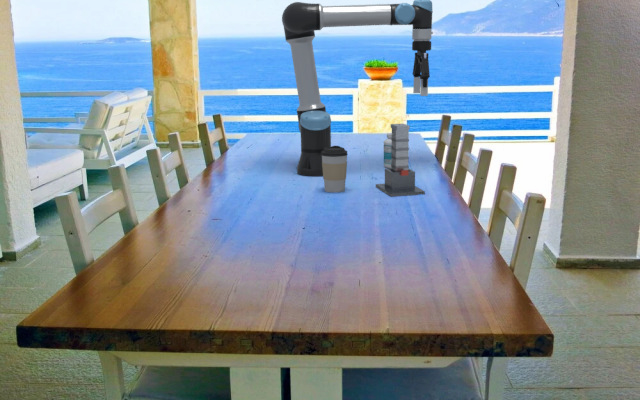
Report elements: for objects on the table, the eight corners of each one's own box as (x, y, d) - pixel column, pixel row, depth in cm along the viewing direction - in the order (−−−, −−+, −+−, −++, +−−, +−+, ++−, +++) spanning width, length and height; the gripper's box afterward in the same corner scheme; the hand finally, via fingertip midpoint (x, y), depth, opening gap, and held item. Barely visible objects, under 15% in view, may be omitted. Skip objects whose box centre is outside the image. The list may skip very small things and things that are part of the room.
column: (396, 189, 231) (397, 126, 226) (390, 185, 237) (390, 124, 232) (408, 188, 232) (409, 125, 227) (402, 184, 238) (403, 123, 233)
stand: (390, 196, 225) (390, 173, 224) (375, 186, 241) (375, 164, 239) (424, 194, 228) (425, 171, 226) (408, 184, 243) (408, 163, 241)
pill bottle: (402, 165, 280) (402, 132, 277) (402, 168, 273) (402, 134, 270) (383, 165, 281) (383, 132, 278) (383, 168, 274) (383, 135, 270)
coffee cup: (345, 193, 231) (345, 149, 228) (319, 192, 233) (318, 149, 230) (349, 187, 240) (349, 145, 236) (324, 187, 242) (323, 144, 238)
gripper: (438, 40, 260) (436, 96, 265) (424, 40, 285) (422, 92, 289) (419, 40, 260) (417, 97, 265) (406, 40, 284) (405, 92, 289)
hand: (420, 94), depth 277 cm, fingers open, 13 cm apart
